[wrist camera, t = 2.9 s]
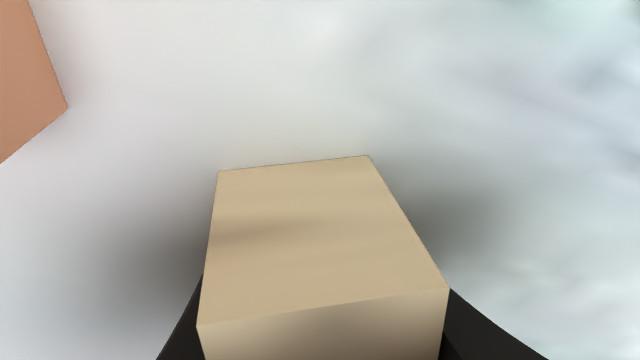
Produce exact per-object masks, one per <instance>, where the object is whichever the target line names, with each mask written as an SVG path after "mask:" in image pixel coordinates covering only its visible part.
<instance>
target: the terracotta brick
mask: <svg viewBox="0 0 640 360" xmlns="http://www.w3.org/2000/svg"><path fill="white" fill-rule="evenodd" d="M67 109H68V107H67V104H66V101H65V99H64V96H63V93H62V91H61V88H60V85H59V83H58V80H57V77H56V75H55V72H54V69H53V67H52V64H51V61H50V59H49V56H48V53H47V51H46V48H45V45H44V43H43V40H42V37H41V35H40V32H39V29H38V27H37V24H36V21H35V19H34V16H33V13H32V11H31V8H30V5H29V3H28V0H0V164H1V163H2V162H3V161H5V160H6V159H7V158H8V157H9V156H11V155H12V154H13V153H14V152H16V151H17V150H18V149H19V148H21V147H22V146H23V145H24V144H25V143H27V142H28V141H29V140H30V139H32V138H33V137H34V136H35V135H37V134H38V133H39V132H40V131H42V130H43V129H44V128H45V127H46V126H48V125H49V124H50V123H51V122H53V121H54V120H55V119H56V118H58V117H59V116H60V115H61V114H62V113H64V112H65V111H66V110H67Z"/></svg>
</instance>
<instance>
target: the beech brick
mask: <svg viewBox="0 0 640 360" xmlns="http://www.w3.org/2000/svg"><path fill="white" fill-rule="evenodd" d="M449 290H450V286H449V285H448V283H447V282H446V280H445V278H444V277H443V275H442V274H441V272H440V270H439V269H438V267H437V266H436V264H435V262H434V261H433V259H432V257H431V256H430V254H429V253H428V251H427V249H426V248H425V246H424V245H423V243H422V241H421V240H420V238H419V237H418V235H417V233H416V232H415V230H414V229H413V227H412V225H411V224H410V222H409V220H408V219H407V217H406V216H405V214H404V212H403V211H402V209H401V208H400V206H399V204H398V203H397V201H396V200H395V198H394V196H393V195H392V193H391V192H390V190H389V188H388V187H387V185H386V183H385V182H384V180H383V179H382V177H381V175H380V174H379V172H378V171H377V169H376V167H375V166H374V164H373V163H372V161H371V159H370V158H369V156H368V155H365V156H355V157H346V158H337V159H328V160H319V161H309V162H300V163H291V164H282V165H273V166H263V167H254V168H245V169H236V170H227V171H218V178H217V185H216V192H215V199H214V206H213V213H212V219H211V226H210V233H209V240H208V247H207V254H206V261H205V268H204V275H203V282H202V289H201V296H200V303H199V310H198V316H197V323H196V328H197V331H198V335H199V338H200V342H201V345H202V348H203V352H204V355H205V359H206V360H438V355H439V349H440V343H441V337H442V331H443V325H444V319H445V313H446V308H447V302H448V296H449Z"/></svg>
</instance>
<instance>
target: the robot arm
mask: <svg viewBox="0 0 640 360" xmlns="http://www.w3.org/2000/svg"><path fill="white" fill-rule="evenodd" d="M203 275H204V273H203V274H202V276H201V278H200V280H199V283H198V285H197V287H196V289H195V291H194V293H193V295H192V297H191V299H190V301H189V303H188V305H187V307H186V309H185V311H184V313H183V315H182V316H181V318H180V320H179V322H178V323H177V325H176V327H175V329H174V330H173V332H172V334H171V336H170V337H169V339H168V341H167V343H166V344H165V346H164V348H163V349H162V351H161V352H160V354H159V356H158V357H157V359H156V360H206V359H205V355H204V352H203V348H202V345H201V342H200V338H199V335H198V331H197V328H196V323H197V316H198V310H199V303H200V296H201V289H202V282H203ZM438 360H548V359H547V358H545V357H543V356H542V355H540V354H539V353H537V352H536V351H534V350H533V349H531V348H530V347H528V346H527V345H525V344H524V343H522V342H521V341H519V340H518V339H516V338H515V337H513V336H511V335H510V334H509V333H507V332H506V331H504V330H503V329H502V328H500V327H499V326H497V325H496V324H495V323H493V322H492V321H491V320H489V319H488V318H487V317H485V316H484V315H483V314H482V313H480V312H479V311H478V310H476V309H475V308H474V307H473V306H471V305H470V304H469V303H468V302H466V301H465V300H464V299H463V298H462V297H460V296H459V295H458V294H457V293H456V292H455V291H453V290H452V289H451V288H450V290H449V296H448V302H447V308H446V313H445V319H444V325H443V331H442V337H441V343H440V349H439V355H438Z"/></svg>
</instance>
